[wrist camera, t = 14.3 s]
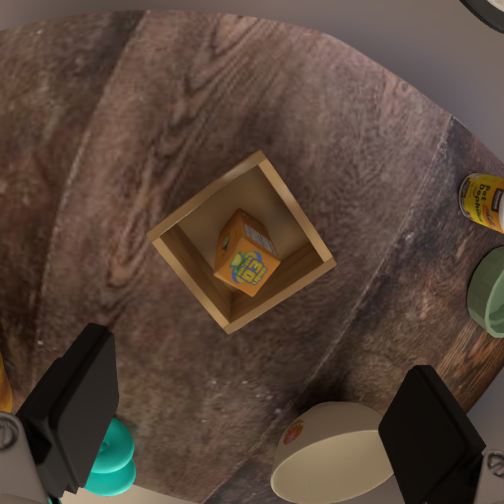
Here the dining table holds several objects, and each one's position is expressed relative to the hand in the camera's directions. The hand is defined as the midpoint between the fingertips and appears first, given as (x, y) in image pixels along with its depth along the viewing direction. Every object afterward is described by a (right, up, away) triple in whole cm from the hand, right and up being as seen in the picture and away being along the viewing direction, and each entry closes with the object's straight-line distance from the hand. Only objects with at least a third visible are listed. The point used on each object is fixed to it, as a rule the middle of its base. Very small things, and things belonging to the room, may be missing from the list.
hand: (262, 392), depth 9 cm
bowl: (+9, -18, +30) cm, 36 cm away
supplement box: (-1, +6, +21) cm, 22 cm away
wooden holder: (-1, +6, +22) cm, 23 cm away
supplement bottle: (+25, +11, +21) cm, 34 cm away
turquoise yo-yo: (-21, -23, +30) cm, 43 cm away
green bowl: (+32, 0, +25) cm, 40 cm away
